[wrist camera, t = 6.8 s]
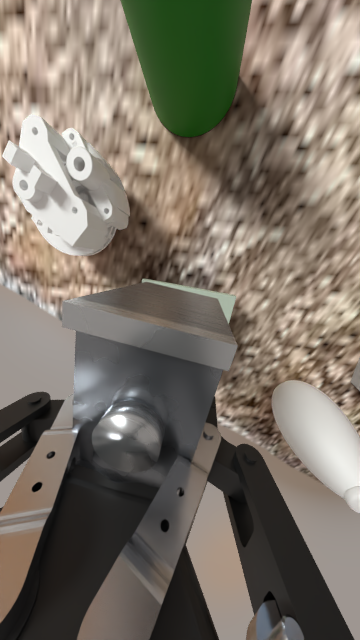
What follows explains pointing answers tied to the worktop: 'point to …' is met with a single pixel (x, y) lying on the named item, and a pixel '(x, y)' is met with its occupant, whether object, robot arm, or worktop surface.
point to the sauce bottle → (320, 437)
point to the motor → (189, 57)
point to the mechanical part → (67, 188)
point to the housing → (144, 376)
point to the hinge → (356, 376)
